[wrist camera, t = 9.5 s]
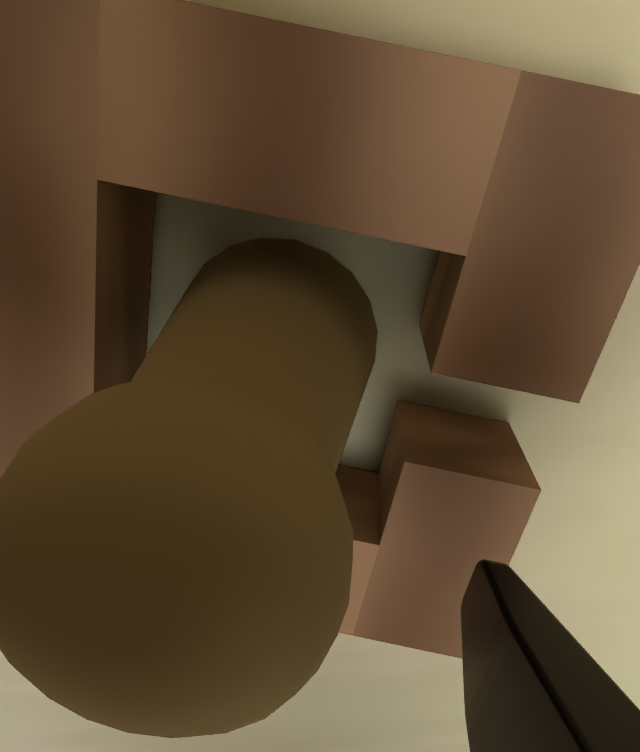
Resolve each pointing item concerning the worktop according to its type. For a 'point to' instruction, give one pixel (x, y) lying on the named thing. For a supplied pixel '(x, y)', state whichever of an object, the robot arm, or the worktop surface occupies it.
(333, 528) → the cork
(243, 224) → the worktop surface
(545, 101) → the socket block
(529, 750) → the robot arm
